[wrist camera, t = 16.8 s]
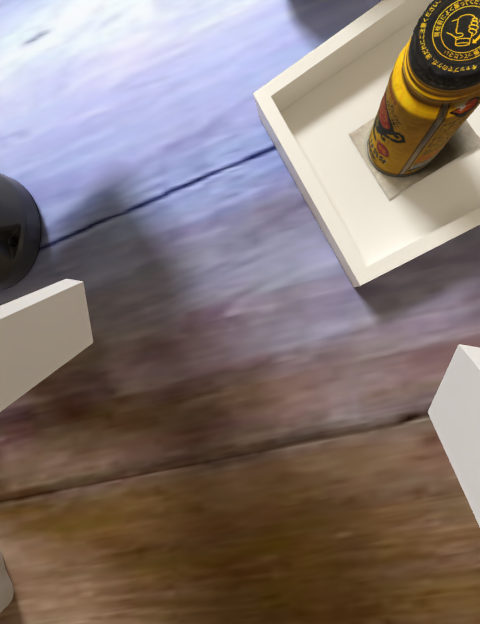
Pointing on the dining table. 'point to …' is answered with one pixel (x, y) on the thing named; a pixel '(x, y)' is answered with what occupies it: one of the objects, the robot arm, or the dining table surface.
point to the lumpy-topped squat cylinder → (5, 586)
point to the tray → (346, 158)
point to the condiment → (427, 99)
